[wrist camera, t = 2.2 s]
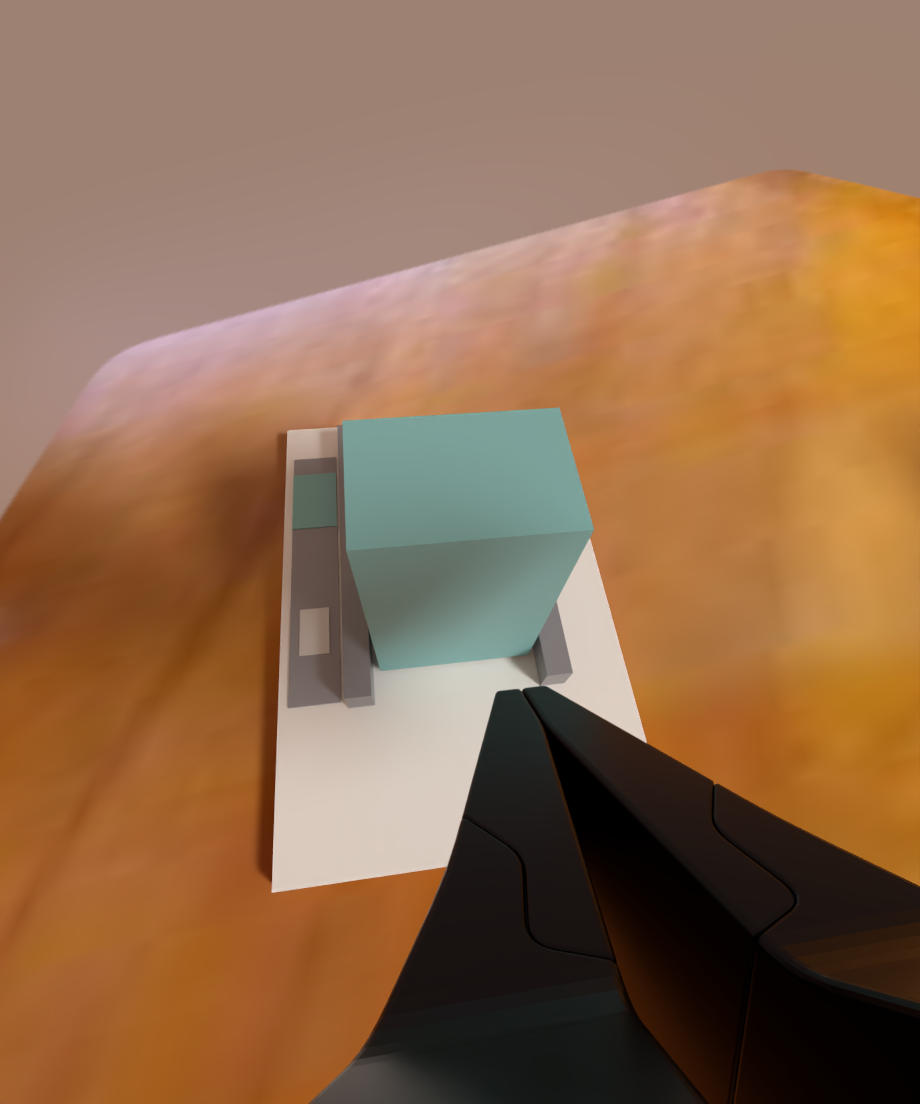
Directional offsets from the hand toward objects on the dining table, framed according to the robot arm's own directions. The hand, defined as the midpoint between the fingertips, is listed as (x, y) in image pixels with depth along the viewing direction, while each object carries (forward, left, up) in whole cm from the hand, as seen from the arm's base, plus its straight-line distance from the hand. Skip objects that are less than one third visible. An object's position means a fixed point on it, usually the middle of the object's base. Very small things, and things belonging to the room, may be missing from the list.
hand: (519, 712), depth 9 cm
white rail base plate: (+5, +5, -13) cm, 15 cm away
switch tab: (+5, +5, -12) cm, 14 cm away
